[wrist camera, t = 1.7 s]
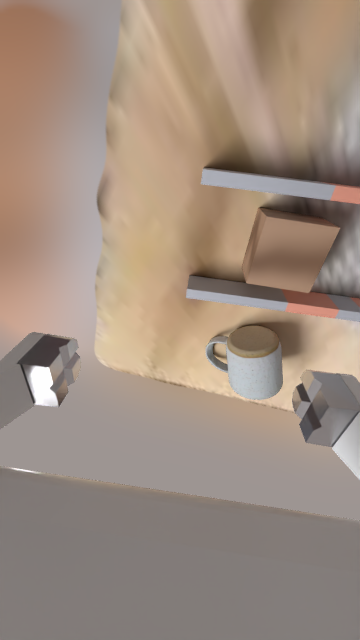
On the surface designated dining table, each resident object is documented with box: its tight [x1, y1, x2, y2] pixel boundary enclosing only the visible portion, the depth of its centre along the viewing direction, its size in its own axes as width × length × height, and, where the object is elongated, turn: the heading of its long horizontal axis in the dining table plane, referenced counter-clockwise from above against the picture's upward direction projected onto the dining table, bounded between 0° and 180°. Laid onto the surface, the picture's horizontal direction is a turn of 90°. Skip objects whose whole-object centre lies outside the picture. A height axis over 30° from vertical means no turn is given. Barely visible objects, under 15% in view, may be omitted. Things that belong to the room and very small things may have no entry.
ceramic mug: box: [206, 326, 283, 400], centre depth 35 cm, size 11×8×8 cm
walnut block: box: [242, 208, 340, 293], centre depth 27 cm, size 7×7×5 cm
